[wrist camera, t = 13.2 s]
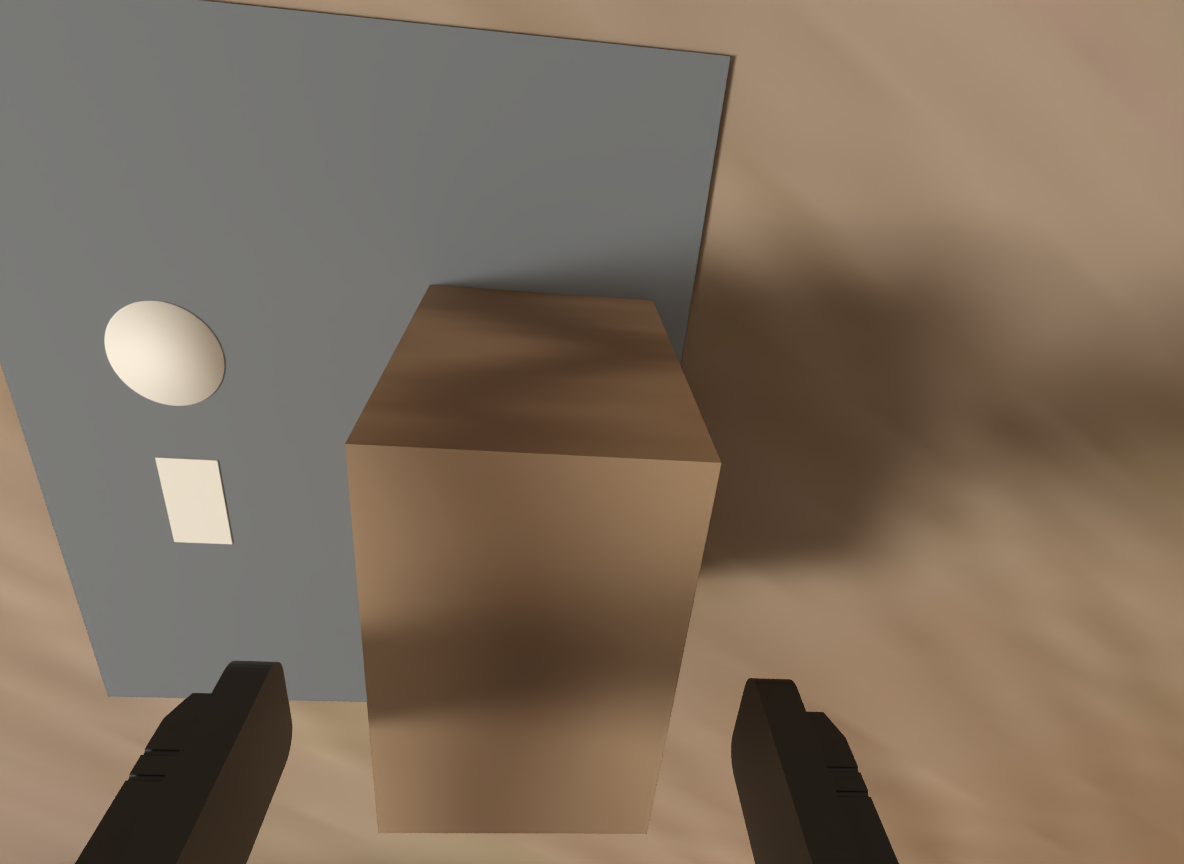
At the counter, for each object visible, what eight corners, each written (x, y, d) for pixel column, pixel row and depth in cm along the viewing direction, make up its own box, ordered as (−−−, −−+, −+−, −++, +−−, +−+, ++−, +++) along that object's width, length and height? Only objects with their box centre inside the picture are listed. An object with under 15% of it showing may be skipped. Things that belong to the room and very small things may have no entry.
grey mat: (729, 56, 15) (730, 56, 15) (625, 704, 24) (625, 708, 24) (-124, -35, 14) (-130, -35, 14) (109, 693, 23) (107, 697, 23)
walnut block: (652, 300, 18) (721, 462, 11) (615, 582, 22) (646, 833, 15) (429, 284, 17) (345, 443, 10) (435, 576, 21) (378, 832, 14)
